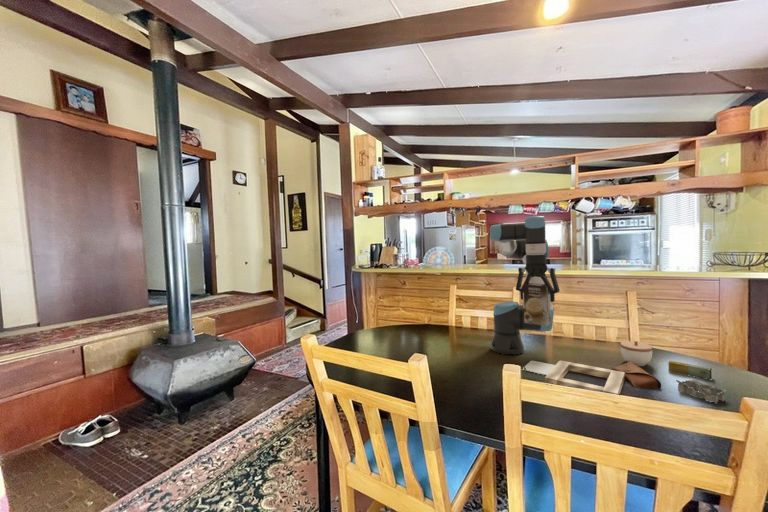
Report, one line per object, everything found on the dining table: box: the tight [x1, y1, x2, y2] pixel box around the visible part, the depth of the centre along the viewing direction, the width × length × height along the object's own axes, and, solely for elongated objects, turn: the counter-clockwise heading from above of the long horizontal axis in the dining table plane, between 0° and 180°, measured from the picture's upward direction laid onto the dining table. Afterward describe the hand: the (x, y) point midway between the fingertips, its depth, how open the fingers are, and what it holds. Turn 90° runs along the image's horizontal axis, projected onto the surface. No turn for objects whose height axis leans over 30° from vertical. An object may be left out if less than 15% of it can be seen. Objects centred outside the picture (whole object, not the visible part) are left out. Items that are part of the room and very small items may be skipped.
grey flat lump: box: [675, 379, 727, 403], centre depth 106 cm, size 11×8×4 cm
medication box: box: [667, 360, 713, 380], centre depth 121 cm, size 12×3×4 cm, turn 41°
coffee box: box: [524, 283, 551, 326], centre depth 133 cm, size 9×6×16 cm
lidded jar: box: [619, 340, 654, 367], centre depth 134 cm, size 11×11×9 cm
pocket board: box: [544, 360, 626, 395], centre depth 120 cm, size 22×21×2 cm
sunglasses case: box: [610, 361, 662, 389], centre depth 121 cm, size 18×7×7 cm, turn 170°
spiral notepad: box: [521, 360, 556, 376], centre depth 134 cm, size 10×12×1 cm
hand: (537, 308), depth 133 cm, fingers closed on coffee box, 9 cm apart
